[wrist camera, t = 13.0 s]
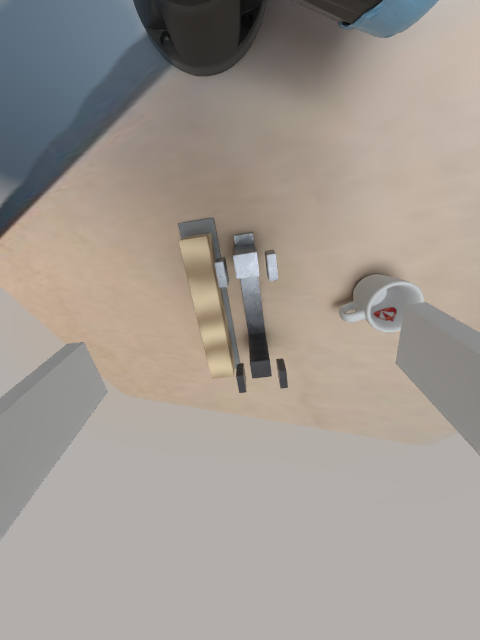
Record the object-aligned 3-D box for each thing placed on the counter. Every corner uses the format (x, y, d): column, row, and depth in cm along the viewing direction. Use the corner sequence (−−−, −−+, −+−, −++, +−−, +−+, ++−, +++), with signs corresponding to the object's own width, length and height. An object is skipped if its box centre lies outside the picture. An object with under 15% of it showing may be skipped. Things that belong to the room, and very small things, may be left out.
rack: (221, 237, 40) (212, 249, 28) (265, 230, 39) (274, 240, 27) (241, 353, 48) (241, 400, 37) (277, 349, 48) (288, 395, 36)
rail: (186, 236, 39) (178, 240, 35) (210, 232, 39) (206, 236, 34) (214, 362, 49) (211, 378, 44) (234, 360, 49) (233, 376, 44)
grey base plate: (178, 223, 39) (178, 223, 38) (213, 217, 38) (213, 217, 38) (213, 370, 50) (212, 371, 50) (240, 366, 50) (240, 367, 49)
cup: (336, 324, 46) (354, 346, 38) (325, 285, 43) (342, 302, 35) (397, 302, 44) (427, 321, 36) (389, 261, 41) (421, 272, 33)
